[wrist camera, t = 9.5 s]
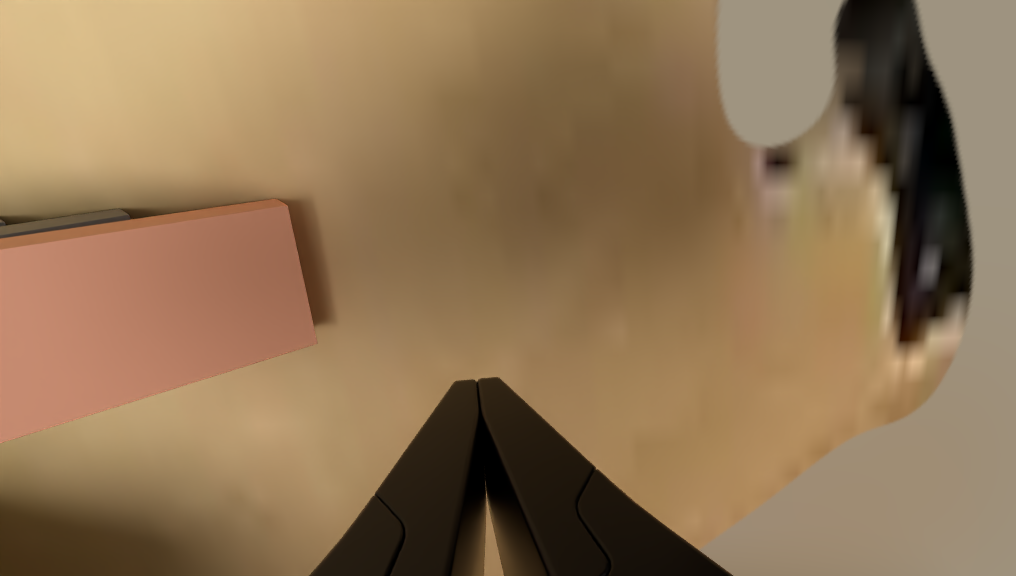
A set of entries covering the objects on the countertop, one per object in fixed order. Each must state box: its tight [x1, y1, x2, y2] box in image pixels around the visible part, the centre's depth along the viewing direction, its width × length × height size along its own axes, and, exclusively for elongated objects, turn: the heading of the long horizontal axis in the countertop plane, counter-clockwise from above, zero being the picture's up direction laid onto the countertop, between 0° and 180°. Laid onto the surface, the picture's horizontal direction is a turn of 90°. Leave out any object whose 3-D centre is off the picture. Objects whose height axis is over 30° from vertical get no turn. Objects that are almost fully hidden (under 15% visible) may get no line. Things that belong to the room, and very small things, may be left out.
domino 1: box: [0, 199, 317, 443], centre depth 14 cm, size 2×5×10 cm
